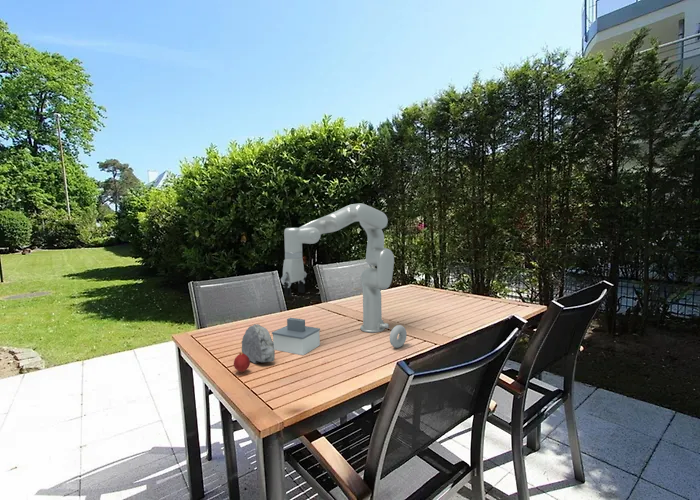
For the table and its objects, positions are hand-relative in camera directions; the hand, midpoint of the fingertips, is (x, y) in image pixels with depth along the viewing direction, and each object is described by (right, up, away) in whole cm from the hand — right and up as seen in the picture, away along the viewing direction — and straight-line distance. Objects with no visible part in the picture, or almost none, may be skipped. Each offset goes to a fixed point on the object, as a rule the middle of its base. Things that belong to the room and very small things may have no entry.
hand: (294, 294), depth 153 cm
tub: (+1, -24, +2) cm, 24 cm away
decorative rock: (-13, -26, -12) cm, 31 cm away
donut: (+46, -24, -1) cm, 51 cm away
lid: (0, -18, +1) cm, 18 cm away
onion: (-16, -27, -23) cm, 39 cm away
